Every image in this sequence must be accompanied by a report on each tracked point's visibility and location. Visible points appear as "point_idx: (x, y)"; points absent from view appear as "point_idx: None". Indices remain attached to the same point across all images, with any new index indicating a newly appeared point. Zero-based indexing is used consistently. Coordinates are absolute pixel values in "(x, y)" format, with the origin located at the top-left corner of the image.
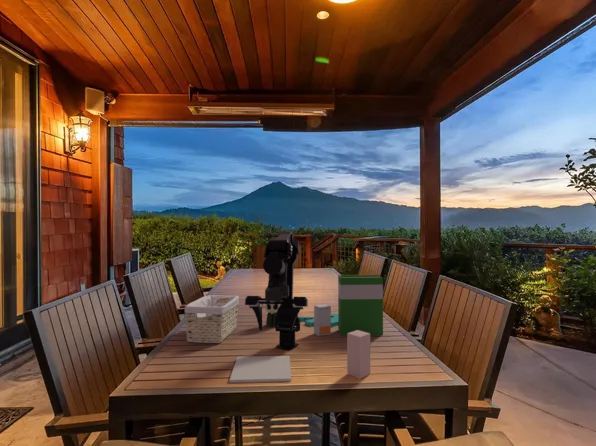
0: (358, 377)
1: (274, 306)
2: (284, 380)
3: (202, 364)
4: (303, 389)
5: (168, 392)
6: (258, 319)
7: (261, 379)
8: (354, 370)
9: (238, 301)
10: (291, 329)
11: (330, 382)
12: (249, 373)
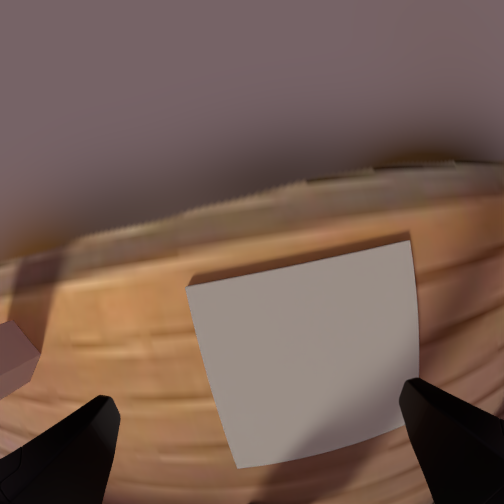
0: (15, 324)
1: None
2: (211, 281)
3: (487, 348)
4: (135, 226)
5: (497, 170)
6: (485, 423)
7: (302, 264)
8: (14, 339)
9: None
10: (92, 400)
11: (66, 291)
12: (359, 307)
